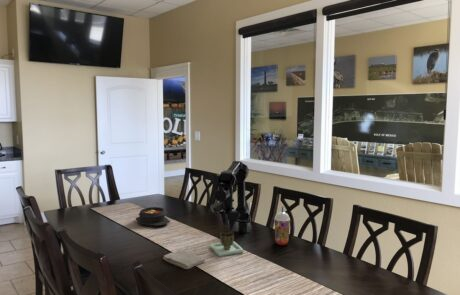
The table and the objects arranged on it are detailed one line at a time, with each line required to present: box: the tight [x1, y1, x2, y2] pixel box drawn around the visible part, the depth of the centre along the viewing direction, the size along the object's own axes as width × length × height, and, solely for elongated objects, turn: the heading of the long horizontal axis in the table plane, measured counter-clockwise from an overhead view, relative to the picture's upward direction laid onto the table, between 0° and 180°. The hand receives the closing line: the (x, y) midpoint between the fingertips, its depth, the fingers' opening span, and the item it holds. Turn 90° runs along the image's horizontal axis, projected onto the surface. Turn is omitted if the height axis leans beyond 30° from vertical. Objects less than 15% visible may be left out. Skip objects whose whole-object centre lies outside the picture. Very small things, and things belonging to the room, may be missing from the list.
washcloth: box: [162, 248, 206, 270], centre depth 174 cm, size 12×18×3 cm, turn 51°
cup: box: [219, 231, 235, 250], centre depth 187 cm, size 8×7×8 cm
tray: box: [209, 241, 244, 257], centre depth 187 cm, size 13×13×2 cm
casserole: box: [135, 206, 171, 227], centre depth 231 cm, size 25×19×8 cm
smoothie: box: [273, 206, 291, 246], centre depth 196 cm, size 8×8×20 cm
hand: (227, 227), depth 186 cm, fingers open, 9 cm apart
